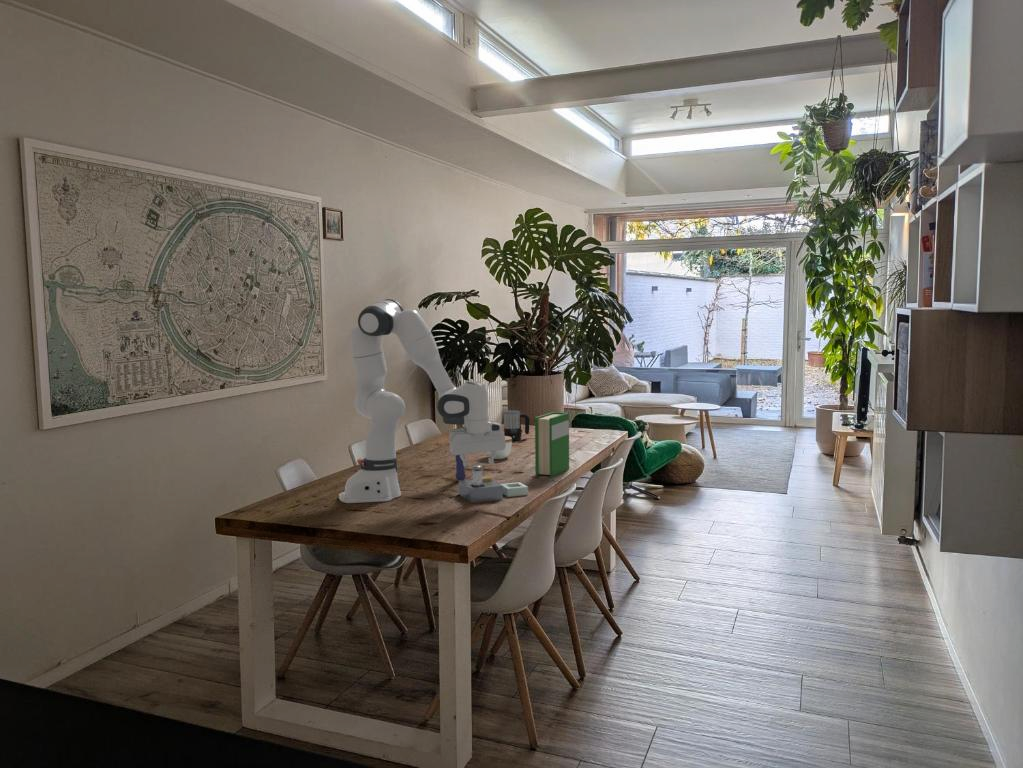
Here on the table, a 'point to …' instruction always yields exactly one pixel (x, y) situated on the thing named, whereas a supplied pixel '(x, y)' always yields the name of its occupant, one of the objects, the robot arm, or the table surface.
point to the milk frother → (515, 424)
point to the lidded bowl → (503, 453)
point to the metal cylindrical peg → (477, 476)
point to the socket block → (480, 491)
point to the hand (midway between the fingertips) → (478, 464)
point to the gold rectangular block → (486, 478)
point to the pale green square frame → (514, 489)
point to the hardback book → (552, 443)
